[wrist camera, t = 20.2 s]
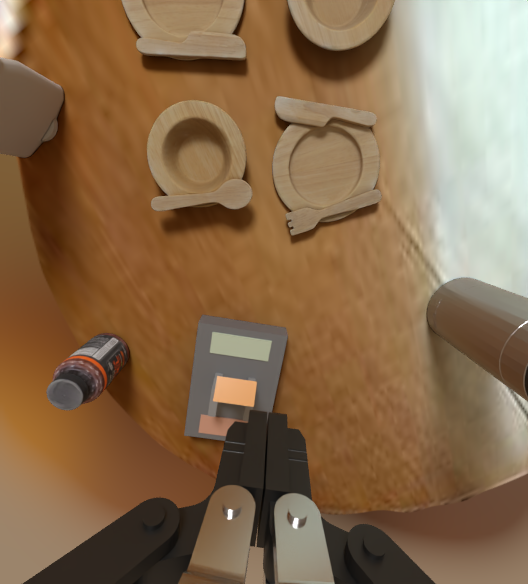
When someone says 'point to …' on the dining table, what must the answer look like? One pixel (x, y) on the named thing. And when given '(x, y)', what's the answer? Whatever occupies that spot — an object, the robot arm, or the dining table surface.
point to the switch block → (232, 372)
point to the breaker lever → (235, 391)
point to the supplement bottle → (87, 371)
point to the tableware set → (302, 114)
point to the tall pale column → (26, 109)
